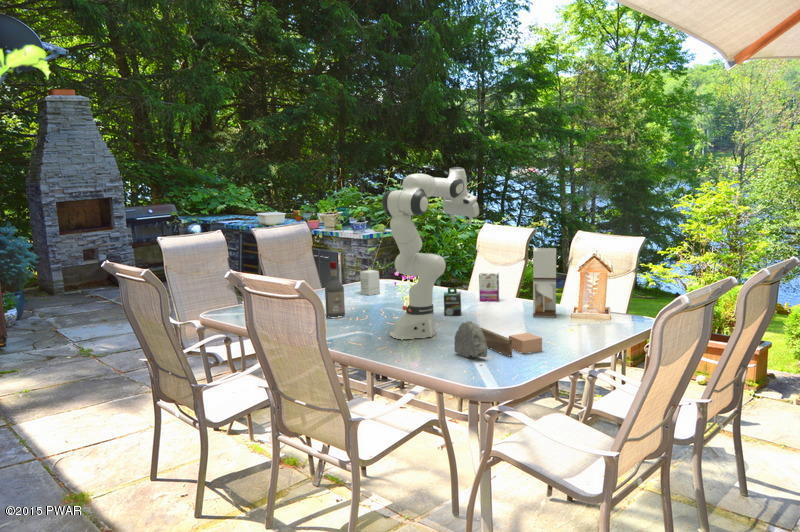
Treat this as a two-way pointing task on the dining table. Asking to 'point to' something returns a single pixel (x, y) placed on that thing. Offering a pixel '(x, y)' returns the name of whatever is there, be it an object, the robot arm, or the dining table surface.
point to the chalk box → (452, 303)
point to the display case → (544, 283)
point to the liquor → (334, 294)
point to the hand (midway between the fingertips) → (461, 222)
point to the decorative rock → (470, 341)
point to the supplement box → (370, 282)
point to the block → (526, 342)
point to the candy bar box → (489, 286)
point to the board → (498, 342)
